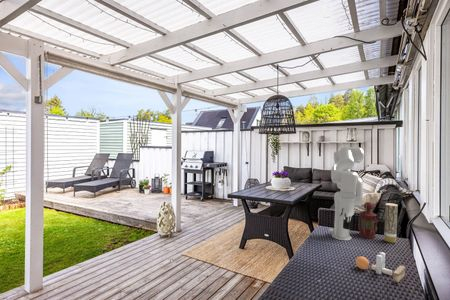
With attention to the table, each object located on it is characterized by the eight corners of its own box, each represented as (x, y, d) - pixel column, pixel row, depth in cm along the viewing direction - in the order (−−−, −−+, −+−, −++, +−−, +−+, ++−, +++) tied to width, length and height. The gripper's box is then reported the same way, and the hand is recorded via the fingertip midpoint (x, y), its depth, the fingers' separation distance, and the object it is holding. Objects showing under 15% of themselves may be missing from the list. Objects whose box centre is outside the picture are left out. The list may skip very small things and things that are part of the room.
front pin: (371, 265, 130) (391, 271, 124) (373, 263, 132) (392, 269, 125) (371, 270, 130) (390, 276, 124) (372, 268, 132) (392, 274, 125)
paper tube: (392, 243, 169) (393, 205, 169) (381, 240, 175) (383, 203, 175) (398, 242, 172) (399, 205, 172) (387, 239, 178) (389, 202, 178)
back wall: (393, 281, 119) (393, 272, 119) (400, 273, 127) (400, 265, 127) (398, 282, 117) (398, 274, 117) (404, 274, 126) (405, 266, 126)
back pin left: (378, 270, 130) (379, 253, 130) (379, 268, 132) (380, 251, 132) (383, 271, 128) (384, 254, 128) (385, 270, 130) (385, 253, 130)
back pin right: (375, 272, 126) (375, 255, 126) (376, 271, 128) (377, 254, 128) (380, 274, 125) (381, 257, 125) (382, 273, 126) (382, 256, 126)
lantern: (373, 240, 175) (374, 196, 175) (354, 235, 184) (356, 193, 184) (379, 236, 183) (381, 194, 183) (361, 232, 192) (363, 191, 192)
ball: (367, 273, 127) (360, 270, 132) (374, 263, 128) (367, 261, 134) (357, 263, 127) (351, 262, 133) (364, 254, 129) (358, 253, 135)
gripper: (346, 192, 148) (345, 224, 148) (335, 195, 138) (333, 229, 138) (360, 194, 143) (358, 228, 143) (349, 197, 133) (348, 233, 133)
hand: (346, 228), depth 140 cm, fingers closed
